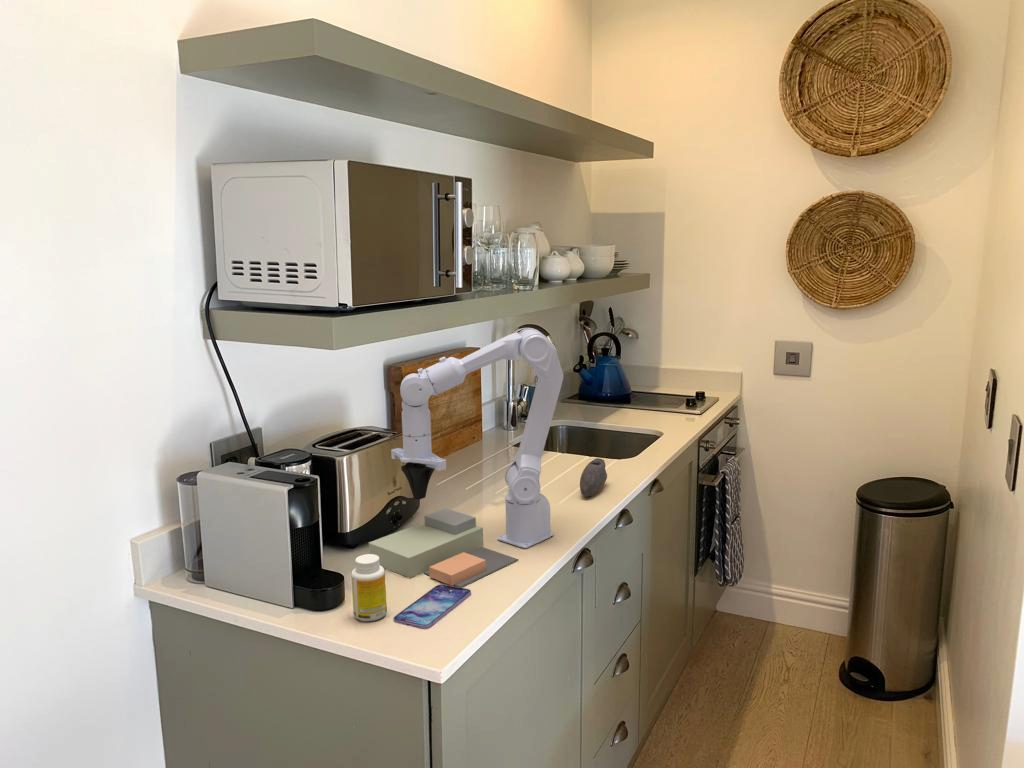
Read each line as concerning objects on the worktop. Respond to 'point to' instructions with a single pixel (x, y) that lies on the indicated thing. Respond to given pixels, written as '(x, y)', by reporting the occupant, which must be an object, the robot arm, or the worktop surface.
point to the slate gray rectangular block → (450, 521)
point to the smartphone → (432, 606)
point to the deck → (422, 548)
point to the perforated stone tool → (593, 477)
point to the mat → (493, 564)
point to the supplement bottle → (368, 588)
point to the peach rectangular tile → (457, 568)
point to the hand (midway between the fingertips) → (419, 498)
